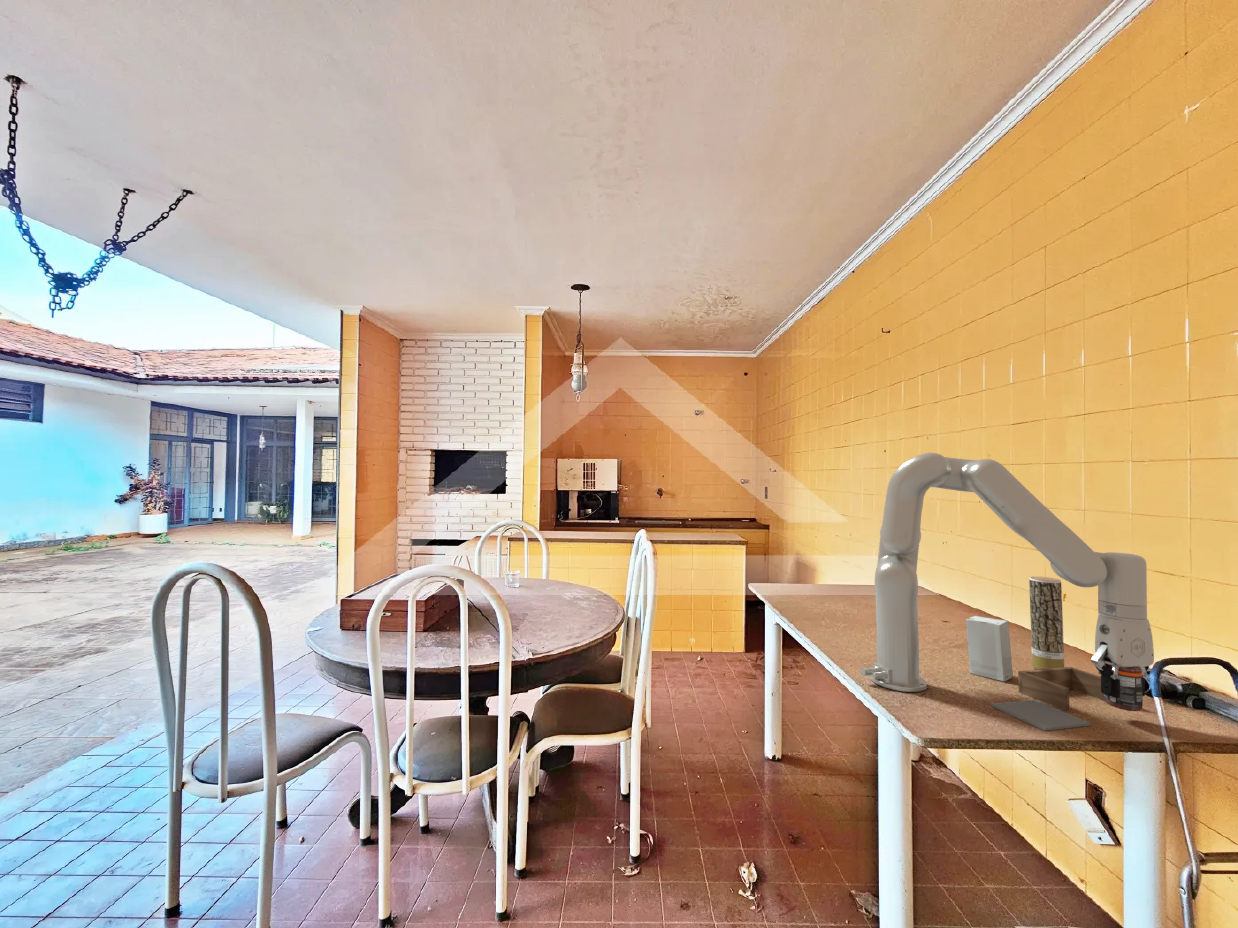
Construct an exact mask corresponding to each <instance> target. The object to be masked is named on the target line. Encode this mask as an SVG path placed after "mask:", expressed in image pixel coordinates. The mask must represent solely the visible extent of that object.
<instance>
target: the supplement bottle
mask: <svg viewBox="0 0 1238 928" xmlns="http://www.w3.org/2000/svg"><path fill="white" fill-rule="evenodd" d="M1108 662H1112V661H1111V660H1110V659H1109V661H1108ZM1108 667H1109V669H1110V670H1112V667H1113V666H1110V665H1108ZM1117 679H1119V680H1120V698H1114V697H1111V696H1109V695H1106V694H1104V700H1105V701H1104V700H1103V701H1104V702H1105V703H1106V704H1108V705H1109V706H1111V707H1114V708H1116V709H1119V710H1122V711H1128V712H1141V711H1142V710H1143V707H1144V706H1143V705H1144V704H1143V701H1144V700H1143V697H1144V696H1142V695H1143V694H1142V670H1141V668H1140V667H1127V668H1123V667H1120V669H1119V673H1118V676H1117Z"/></svg>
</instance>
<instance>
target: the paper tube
mask: <svg viewBox="0 0 1238 928" xmlns="http://www.w3.org/2000/svg"><path fill="white" fill-rule="evenodd" d="M1028 578H1029V579H1028V585H1029V608H1030V609H1029V614H1030V644H1031V645H1030V646H1031V665H1032V667H1033V669H1034V670H1039V669H1051V668H1063V667H1065V648H1064V624H1063V623H1064V622H1063V591H1062V589H1063V587H1062V580H1061V579H1059V578H1056V577H1055V578H1054V577H1049V576H1048V577H1047V576H1029V577H1028Z"/></svg>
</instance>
